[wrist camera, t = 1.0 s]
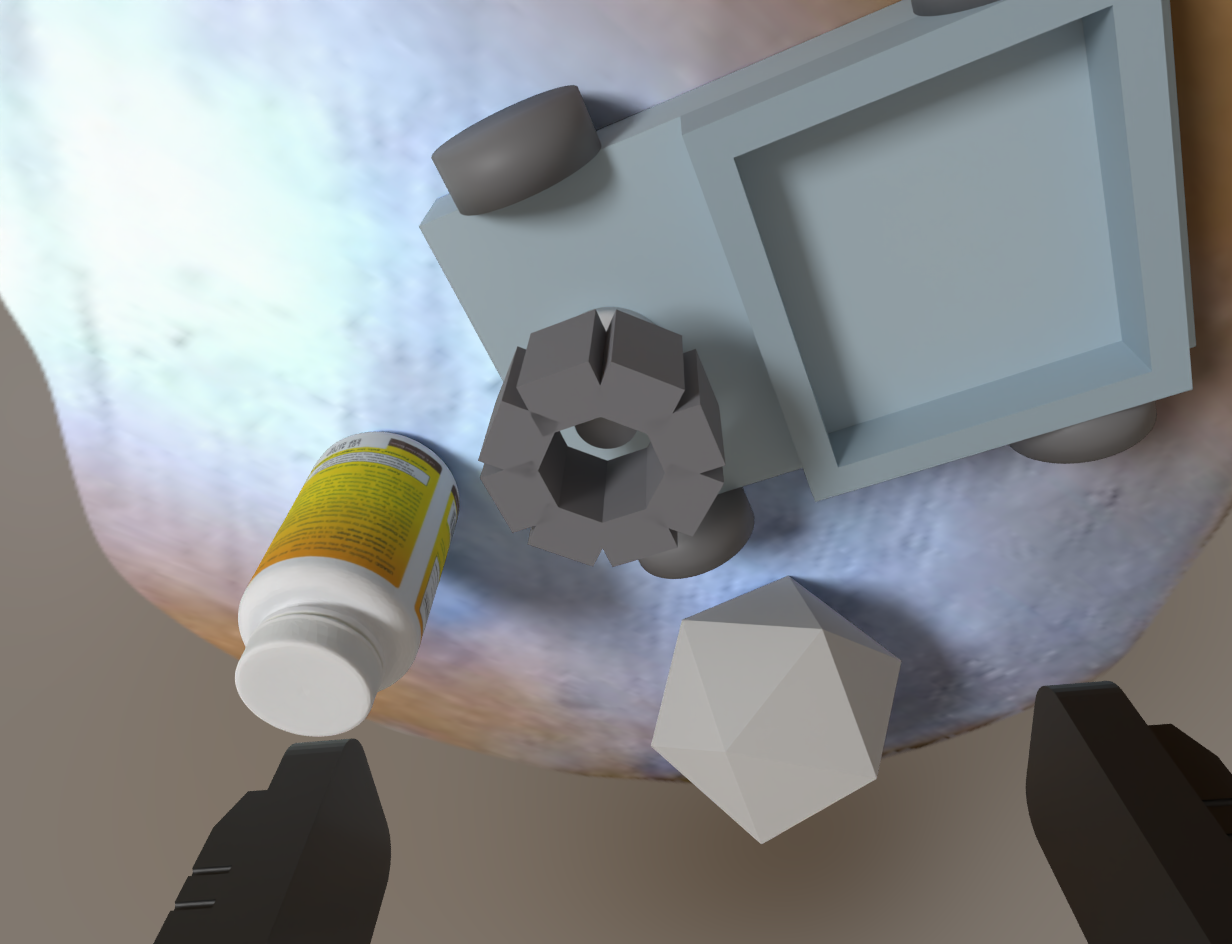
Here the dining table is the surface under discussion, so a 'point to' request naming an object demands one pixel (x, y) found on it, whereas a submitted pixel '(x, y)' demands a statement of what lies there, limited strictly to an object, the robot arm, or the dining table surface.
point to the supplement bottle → (346, 584)
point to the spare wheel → (588, 485)
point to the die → (775, 706)
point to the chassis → (861, 243)
